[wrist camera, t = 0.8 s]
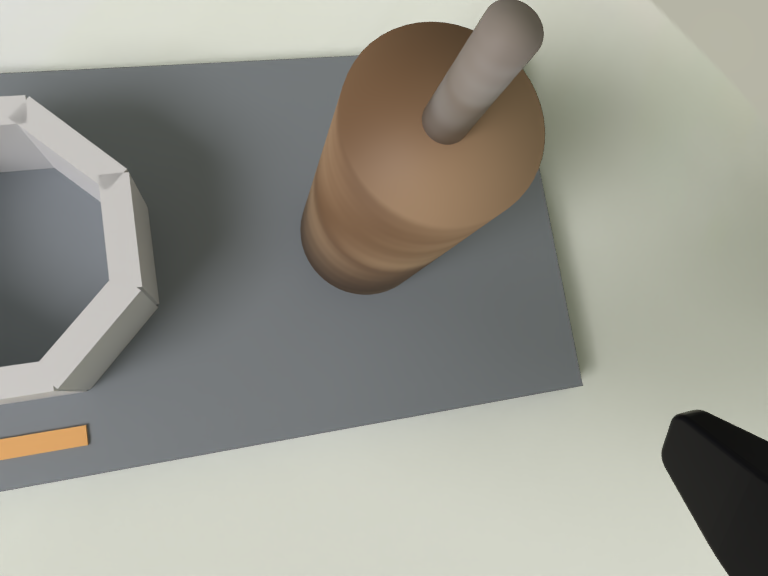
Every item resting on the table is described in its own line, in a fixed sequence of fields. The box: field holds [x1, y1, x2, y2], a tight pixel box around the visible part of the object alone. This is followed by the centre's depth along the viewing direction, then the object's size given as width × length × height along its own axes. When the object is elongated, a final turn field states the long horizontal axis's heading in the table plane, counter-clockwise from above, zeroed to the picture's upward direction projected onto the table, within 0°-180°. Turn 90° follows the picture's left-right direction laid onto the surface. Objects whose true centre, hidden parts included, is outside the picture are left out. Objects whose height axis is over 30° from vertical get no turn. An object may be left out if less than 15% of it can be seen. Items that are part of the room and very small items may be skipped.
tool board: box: [0, 56, 583, 492], centre depth 20 cm, size 25×13×4 cm, turn 100°
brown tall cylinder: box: [300, 0, 545, 295], centre depth 16 cm, size 4×4×13 cm
